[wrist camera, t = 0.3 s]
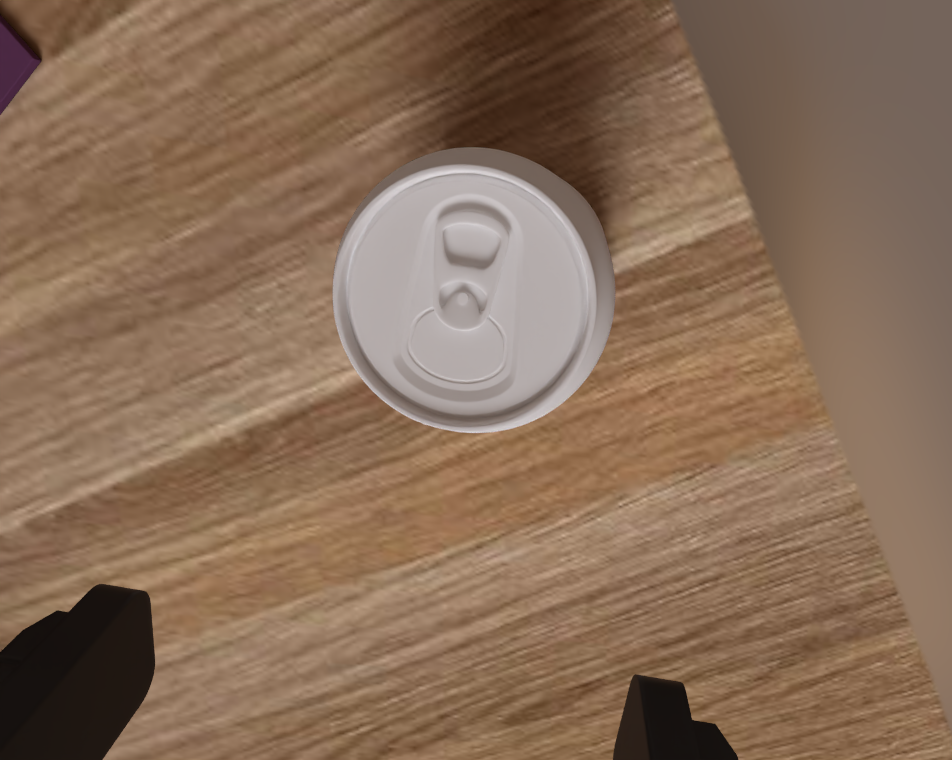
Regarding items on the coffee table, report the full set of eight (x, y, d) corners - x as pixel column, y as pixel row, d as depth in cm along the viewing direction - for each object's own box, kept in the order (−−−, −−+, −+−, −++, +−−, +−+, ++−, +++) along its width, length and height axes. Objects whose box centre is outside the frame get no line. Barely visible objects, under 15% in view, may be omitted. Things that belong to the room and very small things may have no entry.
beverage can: (409, 339, 32) (303, 418, 20) (432, 152, 29) (328, 121, 18) (588, 372, 31) (584, 475, 19) (626, 181, 29) (647, 167, 17)
